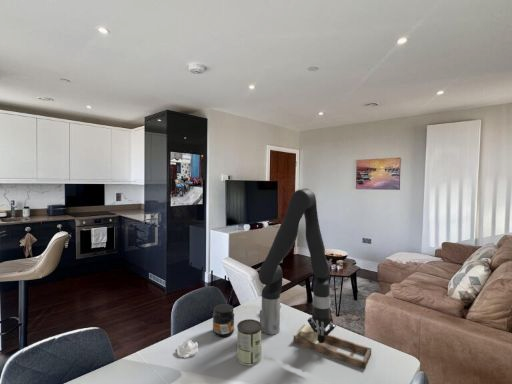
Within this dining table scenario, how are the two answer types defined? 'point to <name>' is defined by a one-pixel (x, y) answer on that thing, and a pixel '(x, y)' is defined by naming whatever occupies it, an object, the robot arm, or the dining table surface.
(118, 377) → the dining table surface
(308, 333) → the oak block
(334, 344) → the track
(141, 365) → the dining table surface
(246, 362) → the coffee can
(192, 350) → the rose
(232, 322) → the supplement container
